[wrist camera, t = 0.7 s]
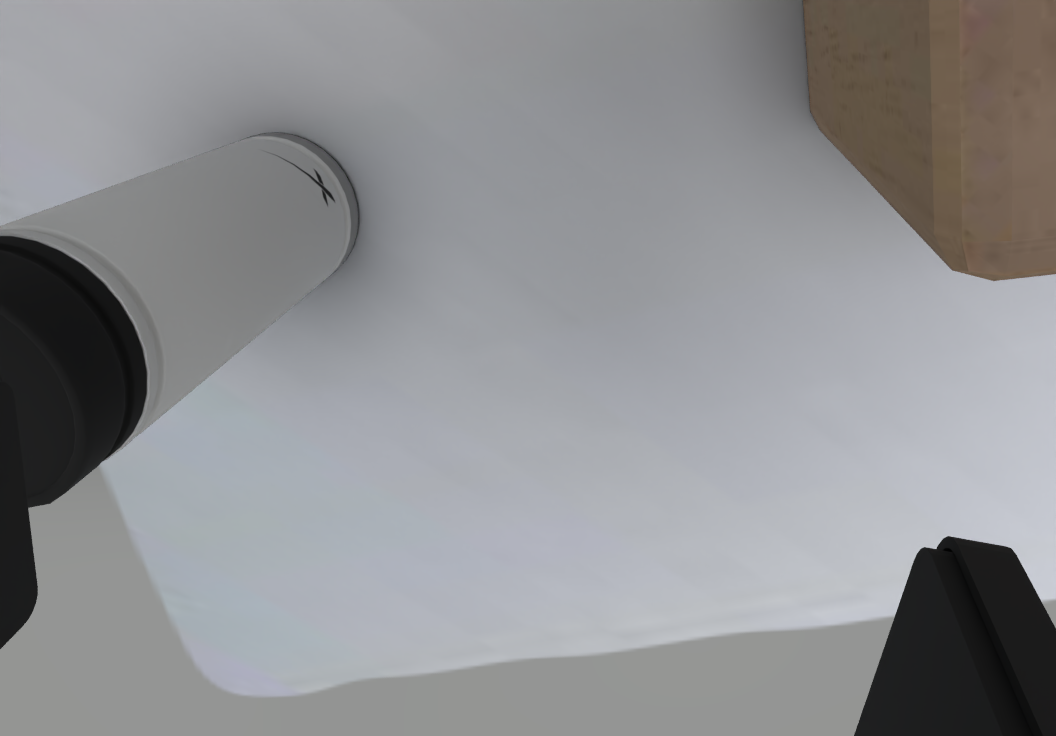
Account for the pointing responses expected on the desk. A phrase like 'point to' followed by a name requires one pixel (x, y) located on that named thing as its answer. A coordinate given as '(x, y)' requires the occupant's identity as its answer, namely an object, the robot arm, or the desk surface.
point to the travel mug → (157, 292)
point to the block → (947, 120)
